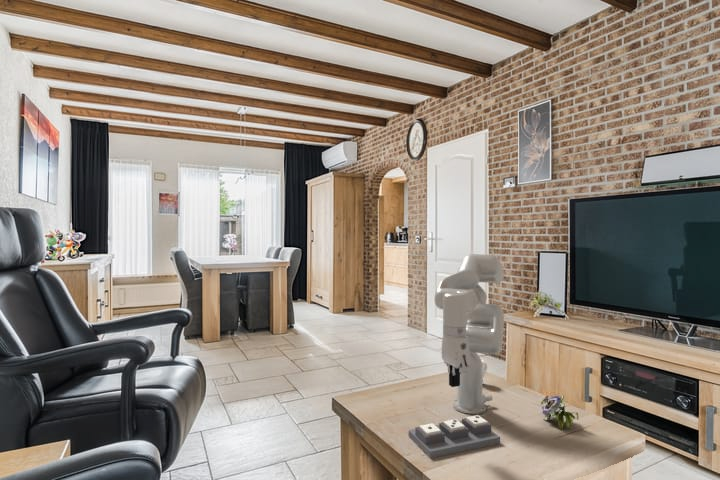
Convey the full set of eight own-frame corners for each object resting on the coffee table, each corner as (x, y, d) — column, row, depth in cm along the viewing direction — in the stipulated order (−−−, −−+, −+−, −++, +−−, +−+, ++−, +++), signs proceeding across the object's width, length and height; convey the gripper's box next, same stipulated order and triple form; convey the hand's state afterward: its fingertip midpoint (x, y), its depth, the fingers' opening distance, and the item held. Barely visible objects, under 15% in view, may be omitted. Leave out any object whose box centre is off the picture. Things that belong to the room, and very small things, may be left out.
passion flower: (546, 435, 144) (535, 400, 151) (577, 431, 143) (564, 396, 150) (552, 429, 135) (540, 393, 142) (585, 425, 134) (571, 389, 141)
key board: (473, 423, 141) (473, 411, 141) (500, 443, 128) (500, 429, 128) (408, 436, 132) (408, 422, 132) (430, 458, 119) (430, 443, 119)
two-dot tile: (477, 423, 136) (478, 414, 136) (487, 430, 131) (487, 421, 131) (465, 426, 134) (465, 416, 134) (474, 432, 130) (475, 423, 130)
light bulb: (469, 380, 183) (470, 357, 183) (483, 380, 184) (483, 357, 184) (475, 386, 177) (475, 361, 177) (489, 386, 177) (489, 361, 177)
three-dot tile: (455, 427, 133) (455, 418, 133) (464, 434, 128) (464, 425, 128) (443, 430, 131) (443, 420, 131) (451, 437, 127) (451, 427, 127)
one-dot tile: (432, 432, 130) (432, 422, 130) (440, 439, 125) (440, 429, 125) (419, 434, 128) (419, 425, 128) (426, 442, 123) (427, 432, 123)
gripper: (478, 335, 124) (478, 392, 124) (451, 324, 138) (451, 376, 138) (458, 337, 121) (457, 396, 122) (432, 326, 135) (432, 379, 136)
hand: (454, 385), depth 130 cm, fingers closed
